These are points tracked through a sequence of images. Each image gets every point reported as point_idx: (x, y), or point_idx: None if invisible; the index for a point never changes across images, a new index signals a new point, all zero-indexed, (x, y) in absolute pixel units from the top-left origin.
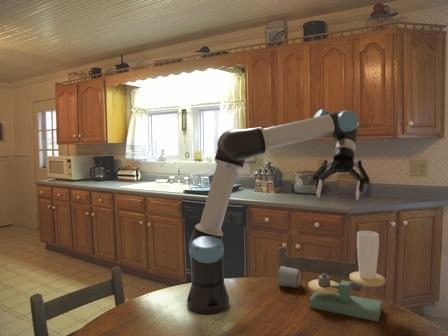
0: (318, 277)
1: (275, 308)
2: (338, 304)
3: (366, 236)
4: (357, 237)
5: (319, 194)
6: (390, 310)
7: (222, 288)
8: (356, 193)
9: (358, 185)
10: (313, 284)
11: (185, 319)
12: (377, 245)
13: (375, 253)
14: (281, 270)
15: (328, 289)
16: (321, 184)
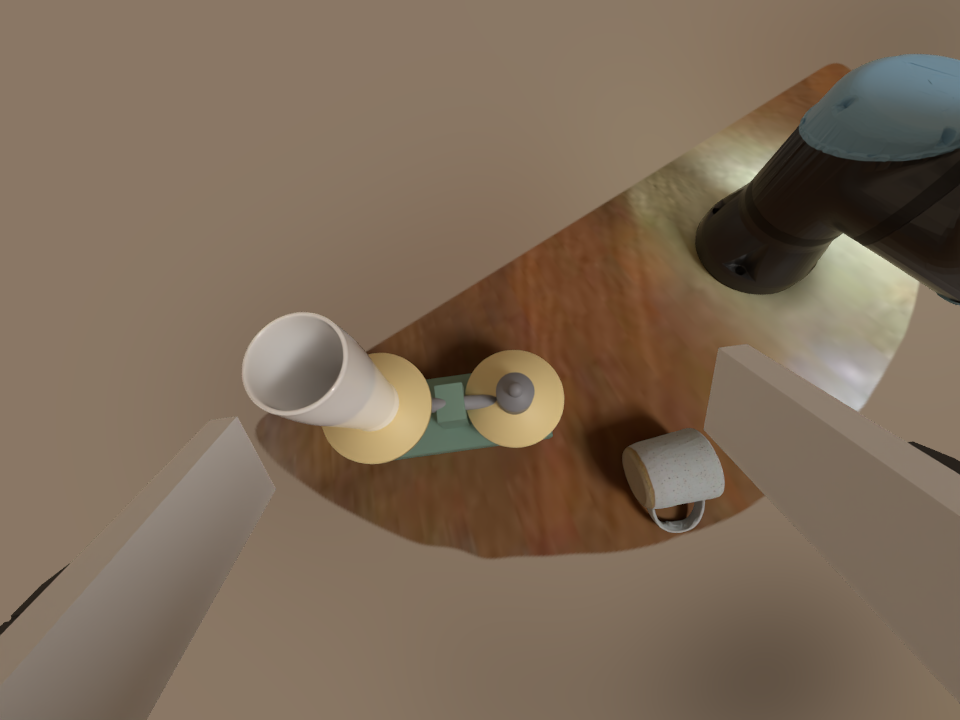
0: (532, 383)
1: (605, 319)
2: (463, 375)
3: (298, 313)
4: (351, 339)
5: (726, 418)
6: (354, 471)
7: (737, 219)
8: (211, 434)
9: (68, 577)
10: (544, 383)
11: (731, 176)
12: (276, 362)
13: (302, 363)
14: (698, 441)
15: (492, 373)
16: (916, 588)
